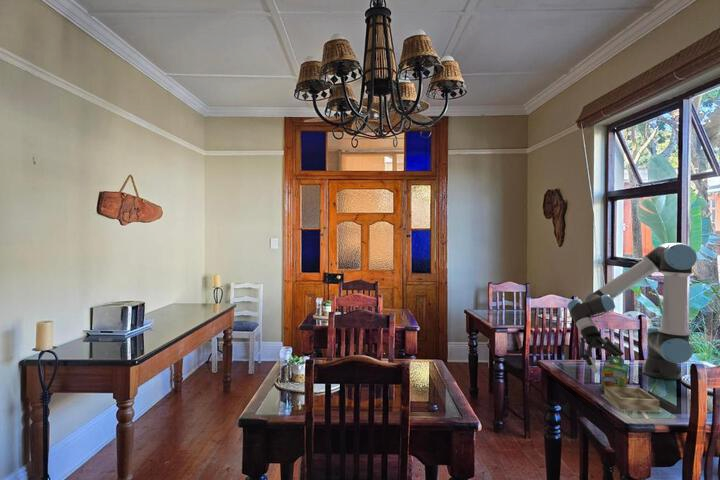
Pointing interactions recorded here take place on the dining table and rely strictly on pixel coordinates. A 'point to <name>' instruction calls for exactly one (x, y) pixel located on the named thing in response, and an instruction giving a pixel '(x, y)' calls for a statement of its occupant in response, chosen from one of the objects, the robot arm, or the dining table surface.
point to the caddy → (631, 398)
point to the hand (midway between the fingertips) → (610, 371)
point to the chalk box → (614, 373)
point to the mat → (628, 409)
